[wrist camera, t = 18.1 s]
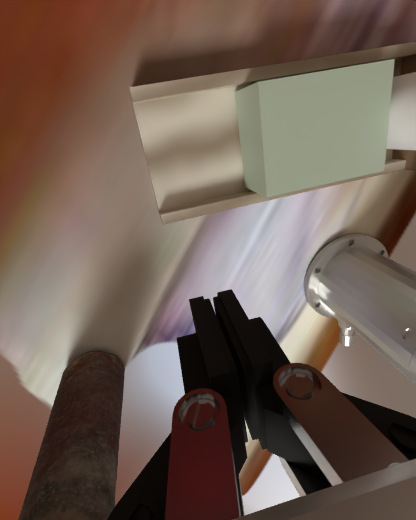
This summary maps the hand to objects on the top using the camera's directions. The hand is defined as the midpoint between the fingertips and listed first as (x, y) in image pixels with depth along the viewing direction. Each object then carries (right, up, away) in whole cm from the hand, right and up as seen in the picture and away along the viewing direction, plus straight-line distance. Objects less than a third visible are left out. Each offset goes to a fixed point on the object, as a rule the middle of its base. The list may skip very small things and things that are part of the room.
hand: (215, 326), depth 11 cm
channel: (+8, +16, +20) cm, 27 cm away
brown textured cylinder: (-15, -12, +26) cm, 33 cm away
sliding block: (+9, +16, +19) cm, 26 cm away
